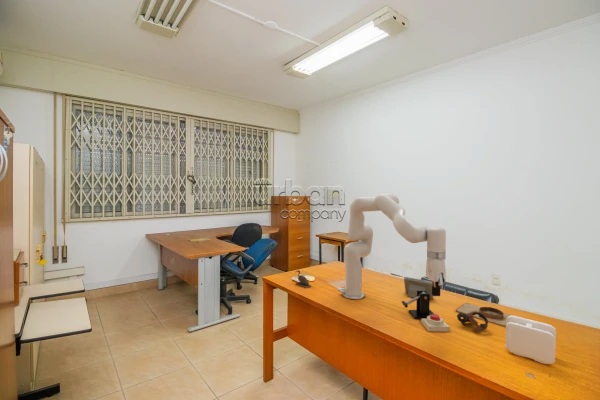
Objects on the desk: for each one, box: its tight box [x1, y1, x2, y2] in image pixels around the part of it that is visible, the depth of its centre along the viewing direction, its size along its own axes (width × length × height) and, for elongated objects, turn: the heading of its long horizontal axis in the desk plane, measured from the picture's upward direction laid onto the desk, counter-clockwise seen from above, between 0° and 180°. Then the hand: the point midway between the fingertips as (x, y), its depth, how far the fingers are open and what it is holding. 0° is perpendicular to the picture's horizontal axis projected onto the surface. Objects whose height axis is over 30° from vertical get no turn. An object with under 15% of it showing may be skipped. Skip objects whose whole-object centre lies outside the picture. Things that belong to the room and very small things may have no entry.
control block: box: [420, 315, 450, 333], centre depth 128 cm, size 9×8×4 cm
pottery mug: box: [456, 311, 489, 333], centre depth 127 cm, size 12×10×8 cm
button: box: [431, 313, 440, 321], centre depth 128 cm, size 4×4×2 cm
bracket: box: [408, 290, 435, 320], centre depth 140 cm, size 11×8×12 cm
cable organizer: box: [504, 314, 557, 365], centre depth 107 cm, size 15×11×12 cm
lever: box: [401, 292, 425, 309], centre depth 140 cm, size 12×5×2 cm, turn 88°
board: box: [455, 302, 512, 328], centre depth 140 cm, size 25×15×3 cm, turn 41°
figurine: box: [295, 270, 312, 289], centre depth 186 cm, size 14×4×9 cm, turn 38°
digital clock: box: [403, 276, 434, 299], centre depth 165 cm, size 16×9×11 cm, turn 39°
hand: (435, 295), depth 127 cm, fingers closed
